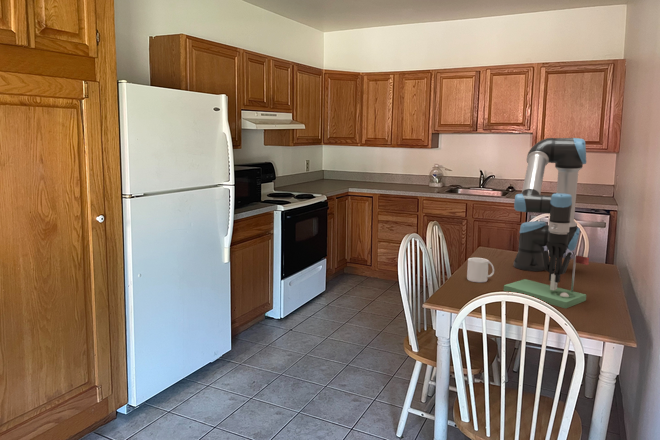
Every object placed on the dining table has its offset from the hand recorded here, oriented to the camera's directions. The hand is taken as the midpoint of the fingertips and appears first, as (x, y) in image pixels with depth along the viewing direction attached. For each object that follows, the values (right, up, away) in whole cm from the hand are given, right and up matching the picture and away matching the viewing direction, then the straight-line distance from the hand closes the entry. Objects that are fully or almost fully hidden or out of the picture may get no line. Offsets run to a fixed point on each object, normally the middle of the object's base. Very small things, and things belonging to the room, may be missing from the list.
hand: (553, 289), depth 201 cm
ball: (+3, -3, -3) cm, 5 cm away
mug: (-22, +1, +26) cm, 34 cm away
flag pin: (+10, -4, 0) cm, 10 cm away
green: (-2, -3, +4) cm, 5 cm away
